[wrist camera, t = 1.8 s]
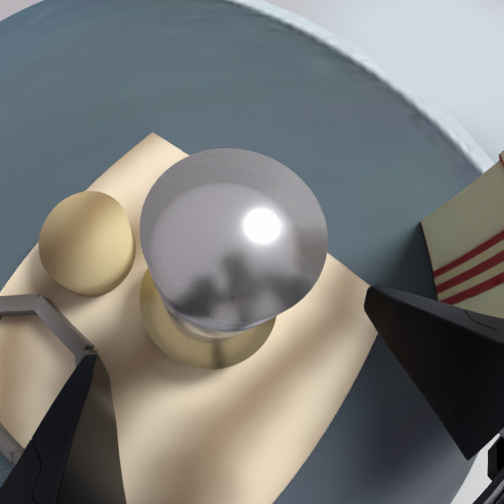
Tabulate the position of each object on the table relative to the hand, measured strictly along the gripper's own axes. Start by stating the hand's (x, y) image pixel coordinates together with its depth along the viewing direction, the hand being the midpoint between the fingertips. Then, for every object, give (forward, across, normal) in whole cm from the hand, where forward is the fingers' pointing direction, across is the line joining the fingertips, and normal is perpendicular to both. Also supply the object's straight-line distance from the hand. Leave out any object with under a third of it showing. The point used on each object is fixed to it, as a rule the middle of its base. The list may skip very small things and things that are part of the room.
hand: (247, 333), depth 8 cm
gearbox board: (+7, +4, +7) cm, 11 cm away
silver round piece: (+8, 0, +4) cm, 9 cm away
